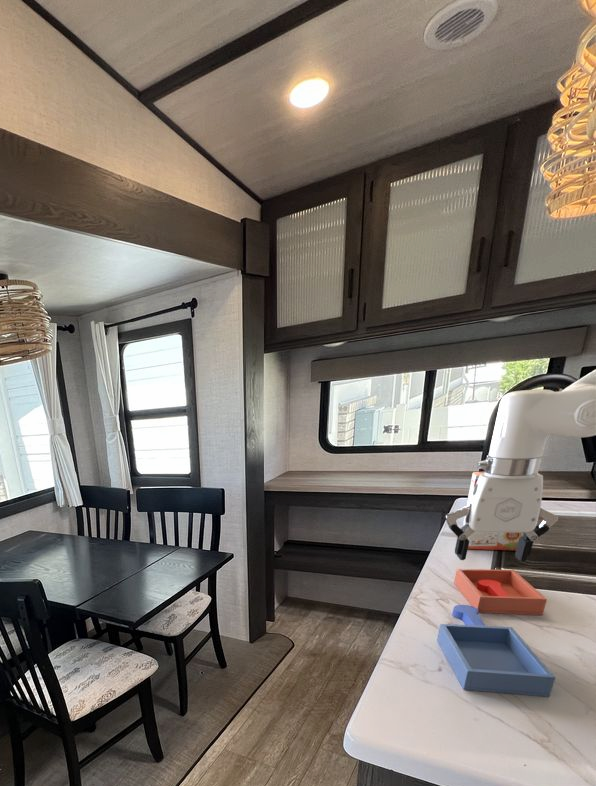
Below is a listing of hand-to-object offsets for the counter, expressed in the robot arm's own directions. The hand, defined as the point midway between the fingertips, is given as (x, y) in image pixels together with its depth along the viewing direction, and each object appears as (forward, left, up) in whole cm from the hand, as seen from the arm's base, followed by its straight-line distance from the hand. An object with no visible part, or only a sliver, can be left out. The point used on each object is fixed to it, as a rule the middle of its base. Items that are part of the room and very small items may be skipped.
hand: (489, 558), depth 89 cm
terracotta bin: (-8, -14, -14) cm, 21 cm away
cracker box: (-18, -50, -14) cm, 54 cm away
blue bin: (+3, +16, -14) cm, 22 cm away
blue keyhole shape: (+1, -1, -14) cm, 14 cm away
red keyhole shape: (-7, -14, -13) cm, 21 cm away
